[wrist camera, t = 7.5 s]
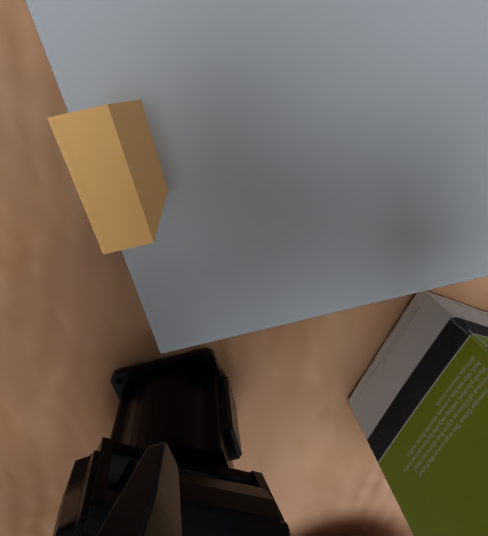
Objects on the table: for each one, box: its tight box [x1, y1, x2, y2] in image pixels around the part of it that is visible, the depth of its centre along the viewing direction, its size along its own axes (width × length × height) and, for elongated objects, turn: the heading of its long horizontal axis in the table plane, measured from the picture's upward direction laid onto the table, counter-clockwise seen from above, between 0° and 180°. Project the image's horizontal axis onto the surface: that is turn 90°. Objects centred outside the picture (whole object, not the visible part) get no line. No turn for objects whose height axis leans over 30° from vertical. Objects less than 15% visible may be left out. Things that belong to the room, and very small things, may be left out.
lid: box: [26, 0, 488, 354], centre depth 11 cm, size 16×16×6 cm
